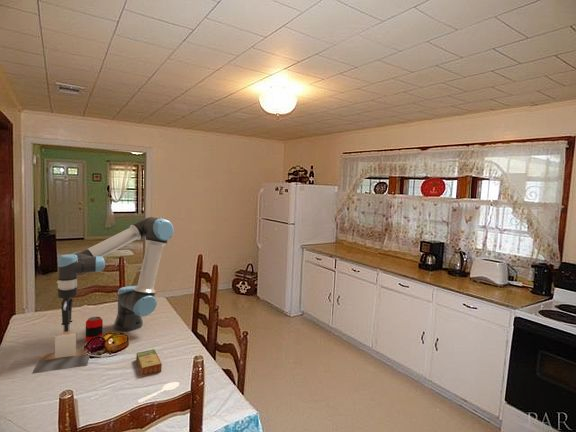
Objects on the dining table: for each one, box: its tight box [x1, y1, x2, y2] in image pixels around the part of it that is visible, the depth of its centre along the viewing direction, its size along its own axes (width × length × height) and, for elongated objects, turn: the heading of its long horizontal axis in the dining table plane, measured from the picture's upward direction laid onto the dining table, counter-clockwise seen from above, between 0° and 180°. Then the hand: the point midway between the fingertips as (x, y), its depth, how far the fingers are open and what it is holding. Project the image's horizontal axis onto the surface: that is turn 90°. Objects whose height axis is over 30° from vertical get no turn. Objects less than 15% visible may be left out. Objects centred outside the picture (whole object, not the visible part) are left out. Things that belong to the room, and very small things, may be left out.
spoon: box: [137, 381, 180, 404], centre depth 135 cm, size 5×18×1 cm, turn 143°
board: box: [31, 348, 91, 375], centre depth 154 cm, size 20×18×1 cm
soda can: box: [85, 316, 104, 343], centre depth 176 cm, size 8×8×12 cm
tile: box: [54, 332, 77, 358], centre depth 157 cm, size 8×2×10 cm, turn 114°
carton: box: [135, 348, 163, 377], centre depth 155 cm, size 8×16×4 cm, turn 32°
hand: (66, 337), depth 160 cm, fingers closed
